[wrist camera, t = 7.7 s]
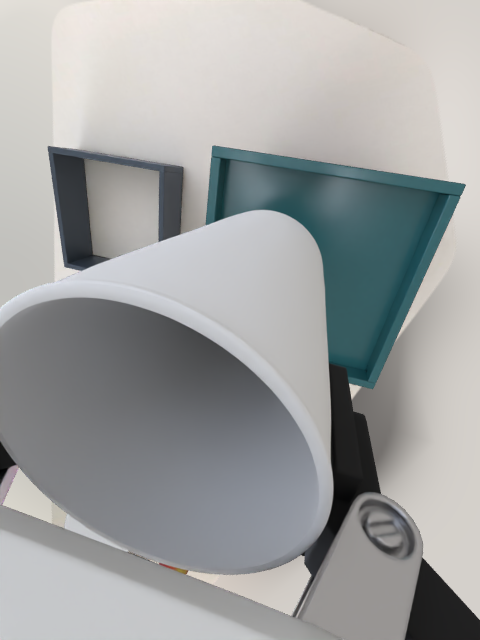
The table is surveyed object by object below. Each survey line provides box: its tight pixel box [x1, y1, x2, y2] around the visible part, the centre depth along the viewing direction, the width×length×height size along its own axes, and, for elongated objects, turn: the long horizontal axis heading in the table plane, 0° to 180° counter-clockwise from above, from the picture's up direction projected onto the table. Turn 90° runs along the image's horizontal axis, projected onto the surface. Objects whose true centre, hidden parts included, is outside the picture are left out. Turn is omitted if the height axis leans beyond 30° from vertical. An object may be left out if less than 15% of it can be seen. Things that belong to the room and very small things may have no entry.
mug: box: [0, 210, 333, 575], centre depth 11 cm, size 10×7×12 cm, turn 160°
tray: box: [206, 146, 466, 389], centre depth 21 cm, size 14×14×2 cm
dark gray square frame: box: [48, 146, 183, 271], centre depth 38 cm, size 14×14×5 cm
